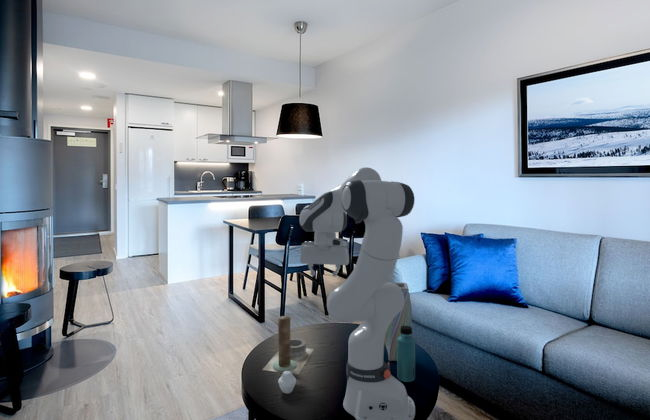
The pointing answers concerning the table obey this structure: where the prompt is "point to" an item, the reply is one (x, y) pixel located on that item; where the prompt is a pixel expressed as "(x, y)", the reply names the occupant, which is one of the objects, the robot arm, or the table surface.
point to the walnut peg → (284, 341)
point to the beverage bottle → (406, 355)
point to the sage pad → (283, 369)
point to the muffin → (287, 382)
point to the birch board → (293, 356)
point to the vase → (398, 323)
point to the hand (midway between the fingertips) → (323, 275)
